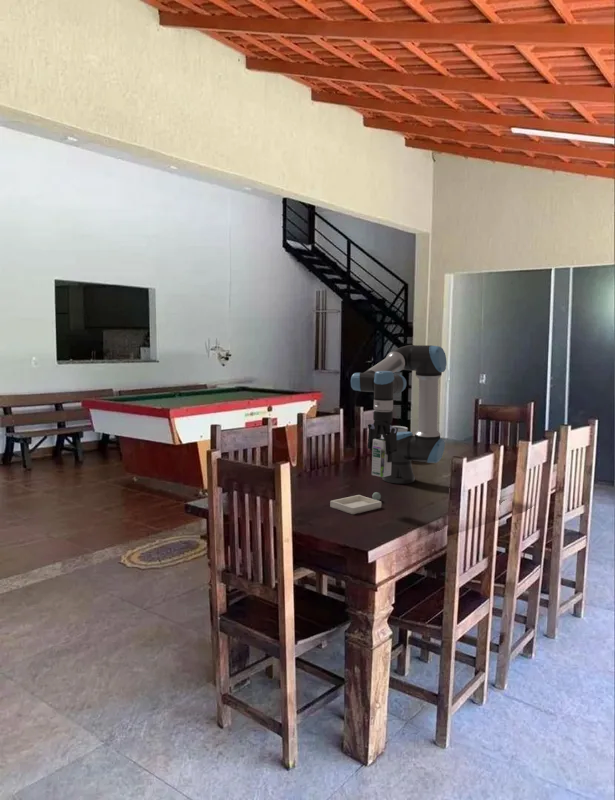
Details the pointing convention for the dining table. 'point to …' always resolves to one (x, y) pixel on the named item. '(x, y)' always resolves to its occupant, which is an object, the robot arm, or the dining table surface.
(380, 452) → the syrup box
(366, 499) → the tray
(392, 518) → the dining table surface
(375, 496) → the ball
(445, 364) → the robot arm
